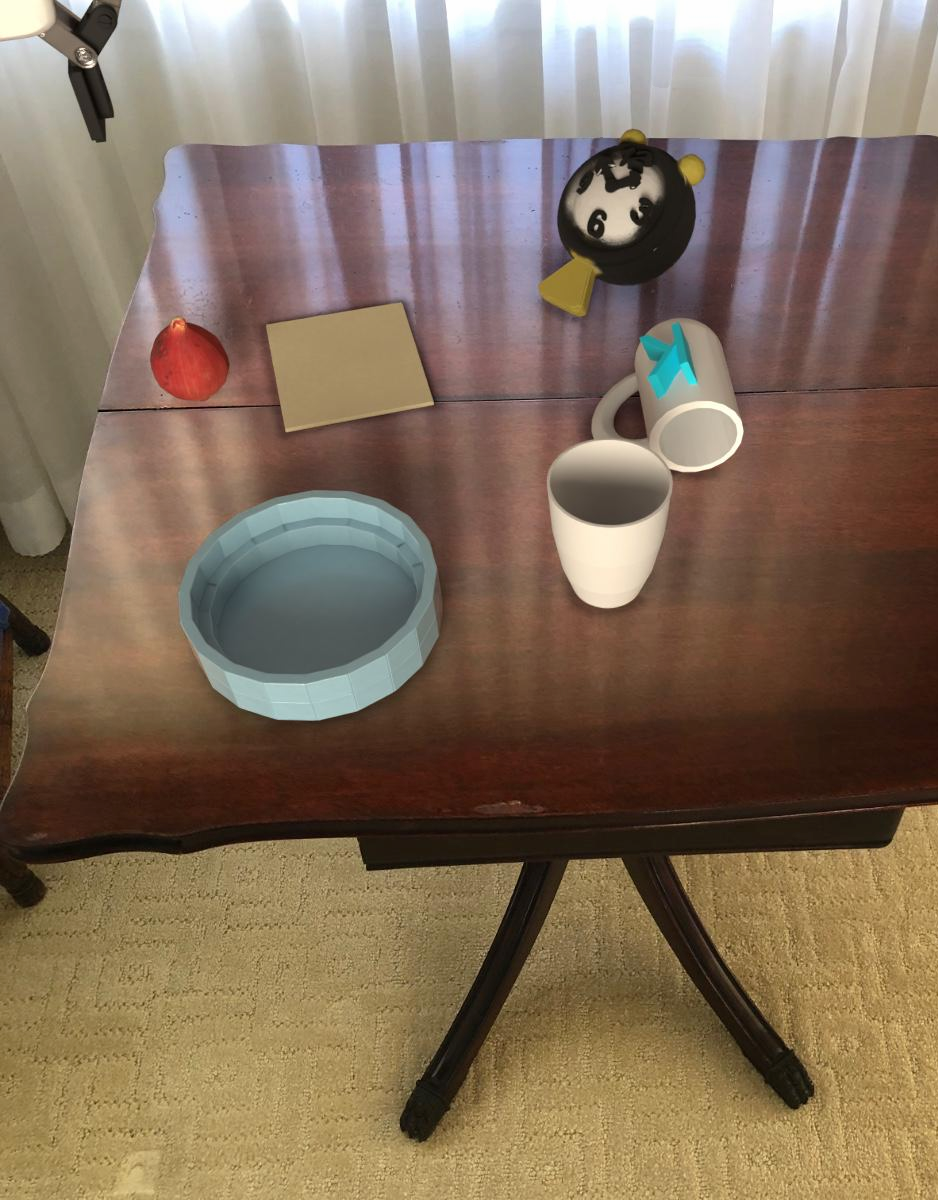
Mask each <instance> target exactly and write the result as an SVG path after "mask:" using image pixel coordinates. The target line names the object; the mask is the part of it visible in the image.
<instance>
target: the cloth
mask: <svg viewBox="0 0 938 1200" xmlns="http://www.w3.org/2000/svg"><path fill="white" fill-rule="evenodd" d="M265 328H266V333H267V334H266V335H267V339H268V345H269V349H270V357H271V361H272V366H273V372H274V377H275V383H276V388H277V392H278V399H279V404H280V409H281V415H282V419H283V420H282V421H283V426H284V430H285V433H289V432H291V433H292V432H296V431H301V430H307V429H313V428H318V427H322V426H327V425H333V424H339V423H345V422H349V421H355V420H360V419H361V420H362V419H366V418H371V417H377V416H381V415H387V414H388V415H389V414H393V413H398V412H402V411H410V410H415V409H421V408H425V407H431V406H434V405H435V402H434V399H433V398H434V397H433V395H432V392H431V389H430V386H429V382H428V379H427V377H426V373H425V370H424V367H423V363H422V360H421V358H420V354H419V350H418V348H417V345H416V341H415V339H414V335H413V332H412V328H411V326H410V322H409V319H408V316H407V313H406V309H405V307H404V304H403V301H400V302H394V303H388V304H381V305H375V306H369V307H364V308H363V307H362V308H358V309H352V310H346V311H339V312H333V313H329V314H328V313H327V314H322V315H315V316H310V317H309V316H308V317H305V318H298V319H291V320H286V321H279V322H273V323H267V324H265Z"/></svg>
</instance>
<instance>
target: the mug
mask: <svg viewBox="0 0 938 1200" xmlns="http://www.w3.org/2000/svg"><path fill="white" fill-rule="evenodd" d="M639 340H640V341H639V343H638V346H637V349H636V352H635V355H634V371H635V372H633V373H631V374H629V375H628V376H627V375H626V376H625V377H624V378H623V379H621V380H620V381H618V382H617V383H616V384H614V385H613V386H612V387H611V388H610V389H609V390H608V391H607V392H606V393H605V394H604V395H603V396H602V398H601V400H600V401H599V402H598V404H597V406H596V407H595V410H594V412H593V416H592V418H591V434H592V437H593V439H600V438H618V439H625V440H629V441H633V442H636V443H639V444H641V445H644V446H646V447H648V448H649V449H651V450H652V451H654V452H655V453H657V454H658V455H659V456H660V457H661V458H662V459H663V460H664V461H665V463H666V464H667V466H668V467H669V469H670V470H672V471H677V472H681V473H697V472H701V471H706V470H710V469H712V468H715V467H717V466H719V465H721V464H723V463H725V462H726V461H727V460H728V459H729V458H731V457H732V456H733V455H734V454H735V453H736V451H737V449H738V448H739V447H740V445H741V444H742V440H743V436H744V427H743V423H742V422H743V421H742V418H741V414H740V410H739V407H738V402H737V397H736V395H735V392H734V387H733V383H732V379H731V375H730V371H729V368H728V364H727V361H726V360H727V359H726V357H725V353H724V349H723V345H722V343H721V341H720V338H719V337H718V335H717V334H716V333H715V332H714V331H713V330H712V329H711V328H710V327H709V326H707V325H706V324H704V323H702V322H701V321H698V320H695V319H692V318H686V317H676V318H670V319H667V320H664V321H661V322H660V323H657V324H656V325H654V326H653V327H651V328H650V329H649V330H648V331H647V332H646V333H645V335H643V336H639ZM637 392H639V397H640V398H639V399H640V403H641V409H642V414H643V419H644V426H645V431H646V437H644V438H637V439H636V438H635V439H632V438H631V439H630V438H625V437H623V436H621V435H619V433H617V431H616V429H615V426H614V419H615V416H616V414H617V412H618V410H619V408H620V407H621V405H623V403H624V402H625V401H626V400H627V399H628V398H629V397H631V396H633V395H634V394H635V393H637Z"/></svg>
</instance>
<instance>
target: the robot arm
mask: <svg viewBox="0 0 938 1200" xmlns="http://www.w3.org/2000/svg"><path fill="white" fill-rule="evenodd" d="M90 2H91V3H89V6H88V7H87V9H86V10H85V12H84V14H83V16H82V17H81V18H80V17H79V16H78V15H77V14H75V13H74V12H73V11H71V10H70V9H69V8H67V7H66V6H65V5H64V4H62V3H61V2H60V1H59V0H0V42H9V41H17V40H23V39H29V38H33V37H39V38H40V39H41V40H42V41H44V42H45V43H47V44H48V45H49V46H51V47H52V48H53V49H55V50H56V51H57V52H59V53H60V54H62V55H63V56H64V57H66V58H67V76H68V79H69V82H70V85H71V87H72V90H73V93H74V95H75V98H76V101H77V104H78V106H79V109H80V112H81V115H82V118H83V120H84V123H85V126H86V129H87V132H88V134H89V138H90V140H91V141H95V143H96V144H99V143H106V142H107V124H106V123H107V122H106V120H107V119H115V111H114V105H113V101H112V97H111V96H110V93H109V90H108V87H107V83H106V81H105V78H104V75H103V72H102V69H101V66H100V63H99V60H98V59H99V56H100V54H101V53H102V51H103V50H104V48H105V46H106V45H107V43H108V42H109V40H110V38H111V37H112V35H113V34H114V32H115V30H116V28H118V27H117V26H118V24H119V15H120V10H121V7H122V2H123V0H92V1H90Z"/></svg>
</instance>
